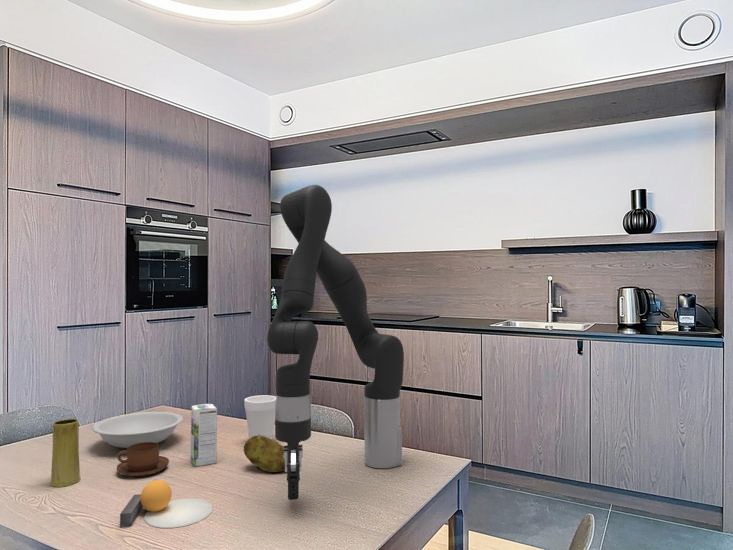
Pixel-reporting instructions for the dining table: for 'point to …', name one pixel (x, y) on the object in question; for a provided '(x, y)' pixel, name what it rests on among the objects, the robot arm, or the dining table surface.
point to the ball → (155, 495)
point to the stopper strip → (131, 511)
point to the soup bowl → (137, 428)
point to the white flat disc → (179, 513)
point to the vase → (65, 453)
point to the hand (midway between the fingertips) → (293, 498)
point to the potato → (265, 453)
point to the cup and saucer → (142, 460)
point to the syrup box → (203, 434)
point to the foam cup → (260, 415)
